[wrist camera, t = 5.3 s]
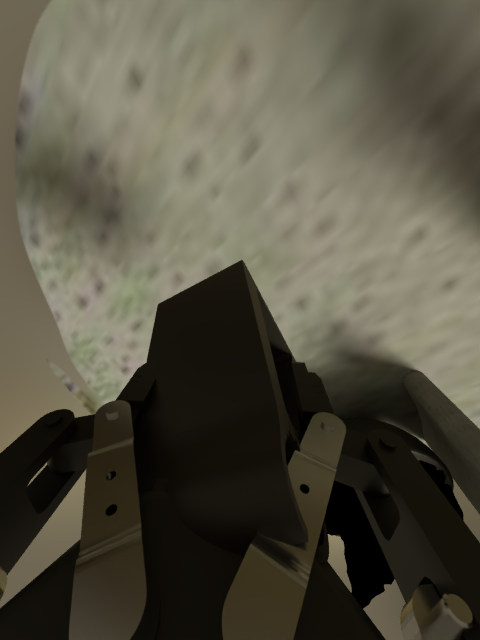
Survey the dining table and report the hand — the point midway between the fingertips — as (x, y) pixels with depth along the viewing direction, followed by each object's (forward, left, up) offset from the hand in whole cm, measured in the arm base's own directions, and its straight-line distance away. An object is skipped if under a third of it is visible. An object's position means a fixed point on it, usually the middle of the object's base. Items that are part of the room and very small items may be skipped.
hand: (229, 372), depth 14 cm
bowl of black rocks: (-19, +27, -20) cm, 39 cm away
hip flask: (-30, +20, -20) cm, 41 cm away
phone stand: (0, 0, -4) cm, 4 cm away
